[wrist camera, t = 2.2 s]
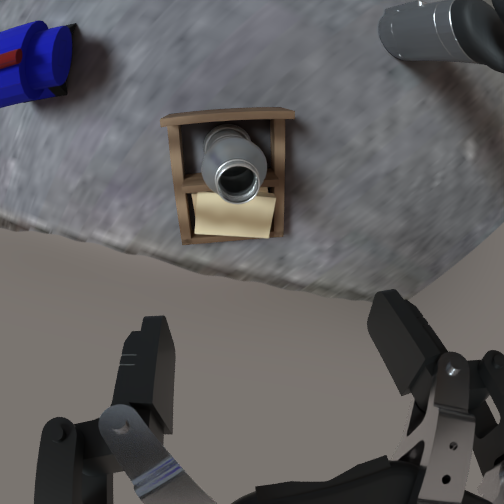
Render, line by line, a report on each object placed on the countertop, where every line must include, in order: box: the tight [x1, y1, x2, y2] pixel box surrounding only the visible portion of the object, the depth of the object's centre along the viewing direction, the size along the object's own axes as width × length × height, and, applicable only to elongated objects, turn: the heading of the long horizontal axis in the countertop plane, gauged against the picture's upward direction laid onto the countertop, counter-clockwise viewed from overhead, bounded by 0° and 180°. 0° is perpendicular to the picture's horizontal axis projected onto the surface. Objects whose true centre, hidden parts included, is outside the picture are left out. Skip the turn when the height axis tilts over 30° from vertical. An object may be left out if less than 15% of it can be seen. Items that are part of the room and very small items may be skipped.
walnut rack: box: [160, 107, 295, 245], centre depth 40 cm, size 20×16×8 cm
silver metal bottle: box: [201, 124, 267, 204], centre depth 32 cm, size 6×7×20 cm
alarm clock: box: [0, 21, 76, 108], centre depth 22 cm, size 12×12×15 cm
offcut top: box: [195, 191, 276, 238], centre depth 42 cm, size 6×11×2 cm, turn 82°
